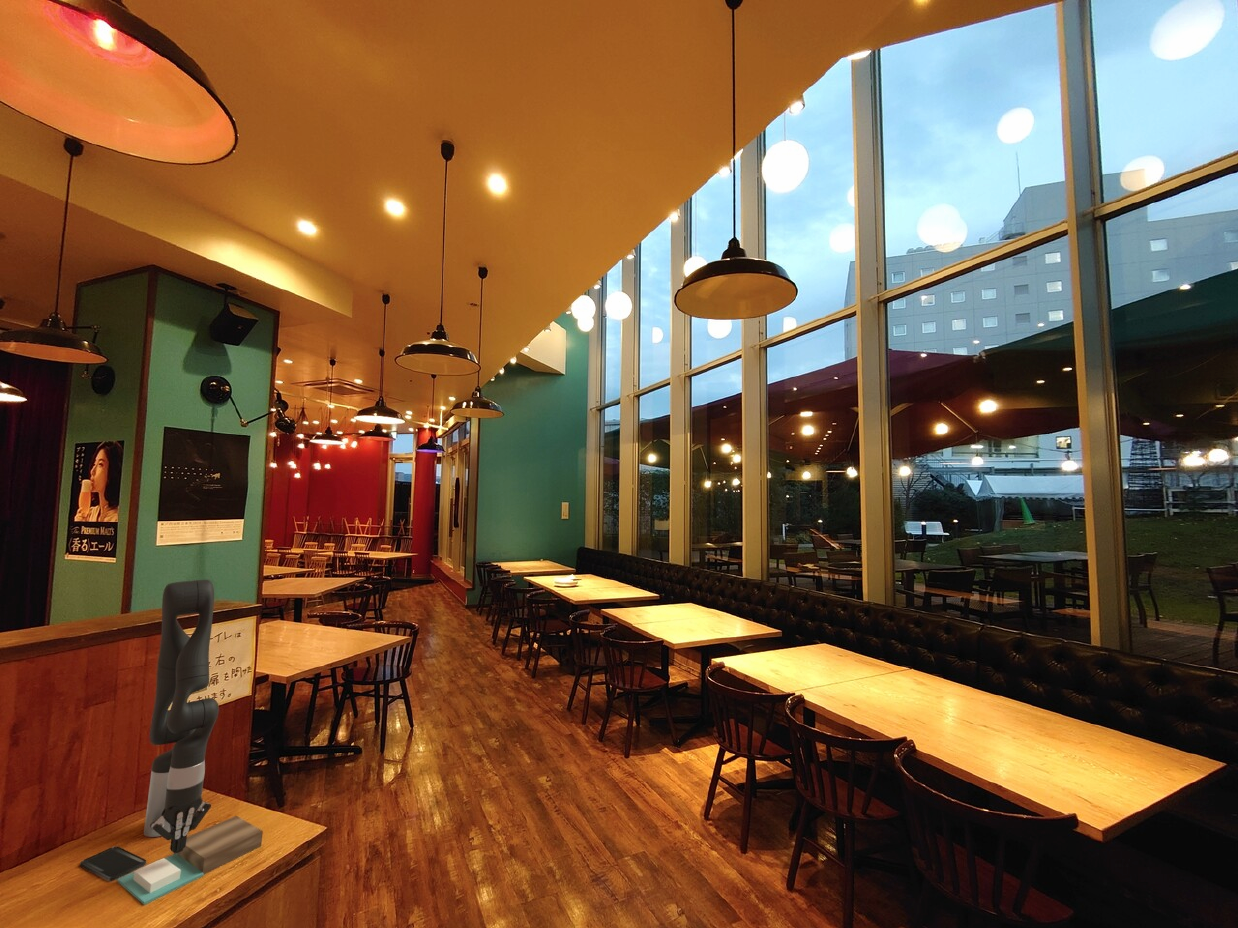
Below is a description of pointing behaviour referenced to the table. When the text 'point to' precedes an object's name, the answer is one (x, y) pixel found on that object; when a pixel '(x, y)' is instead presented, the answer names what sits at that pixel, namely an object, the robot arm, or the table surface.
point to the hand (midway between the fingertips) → (177, 851)
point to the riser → (221, 844)
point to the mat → (186, 876)
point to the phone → (113, 863)
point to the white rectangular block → (157, 875)
